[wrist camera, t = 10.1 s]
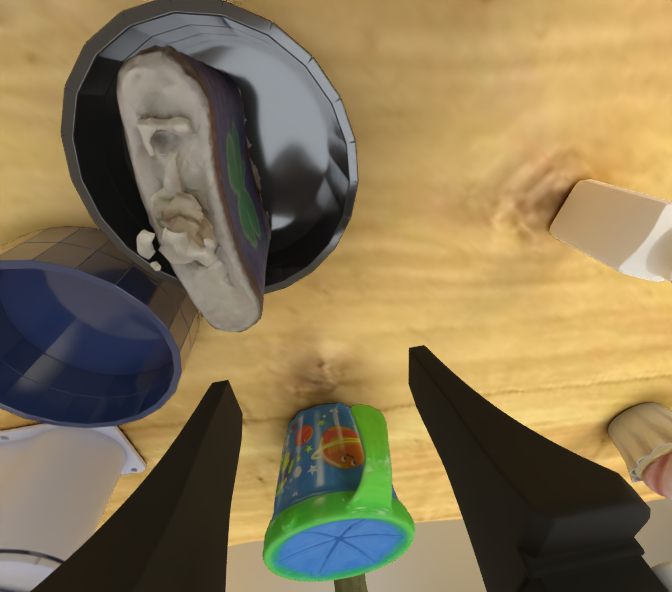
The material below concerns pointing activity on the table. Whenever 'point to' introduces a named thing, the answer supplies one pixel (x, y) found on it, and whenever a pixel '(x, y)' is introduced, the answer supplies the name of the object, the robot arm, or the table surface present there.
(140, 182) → the flask
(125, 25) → the charcoal bowl
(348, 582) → the vegetable
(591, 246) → the pepper shaker
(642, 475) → the cupcake
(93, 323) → the indigo bowl
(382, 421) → the snack cup
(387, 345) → the table surface
